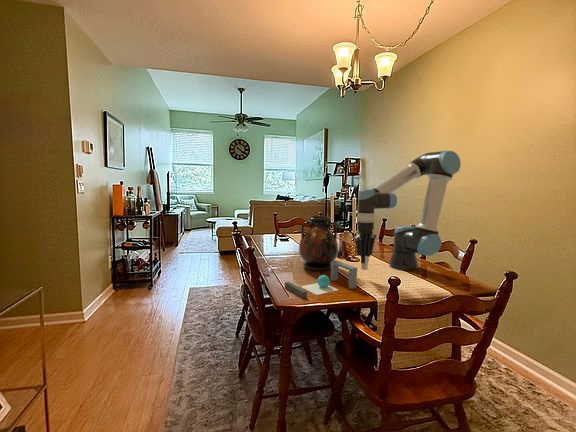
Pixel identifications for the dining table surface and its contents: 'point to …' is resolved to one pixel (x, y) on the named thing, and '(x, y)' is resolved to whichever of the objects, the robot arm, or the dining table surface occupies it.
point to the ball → (323, 281)
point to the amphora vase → (318, 244)
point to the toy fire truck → (342, 249)
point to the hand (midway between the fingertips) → (364, 269)
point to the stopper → (296, 290)
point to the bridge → (351, 269)
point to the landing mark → (318, 289)
